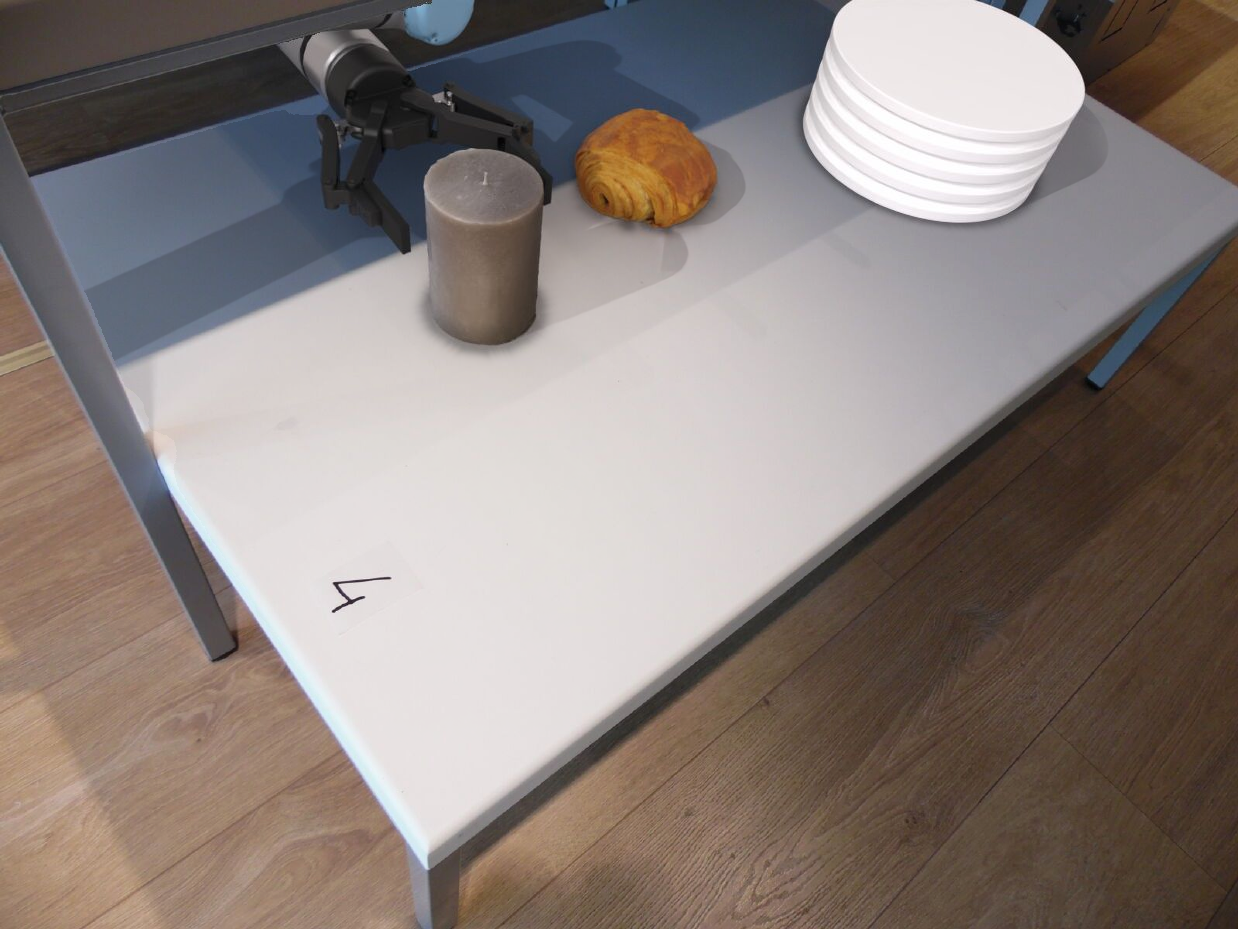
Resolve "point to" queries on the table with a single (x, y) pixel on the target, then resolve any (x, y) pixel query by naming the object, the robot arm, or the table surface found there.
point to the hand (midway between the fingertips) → (480, 215)
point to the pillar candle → (483, 244)
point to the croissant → (645, 169)
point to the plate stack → (940, 106)
